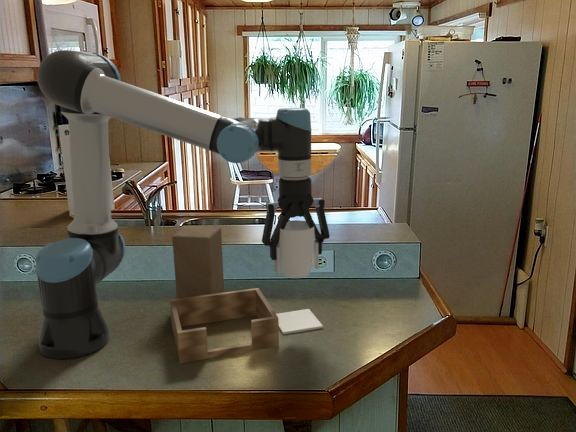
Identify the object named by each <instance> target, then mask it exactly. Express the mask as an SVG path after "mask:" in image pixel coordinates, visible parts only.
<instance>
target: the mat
mask: <svg viewBox="0 0 576 432" xmlns="http://www.w3.org/2000/svg"><path fill="white" fill-rule="evenodd" d="M275 314H276V315H277V317H278V321H279V331H280V332H281V334H282V335H289V334H293V333H294V334H296V333H300V332H301V333H302V332H307V331H314V330H320V329H323V328H324V326H323V324H322V323H321V322H320V321H319V319H318V318H317V317H316V316H315V314H314V313H313V312H312V311H311V310H310V308H305V309H299V310H292V311H285V312H280V313H275Z"/></svg>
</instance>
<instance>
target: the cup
mask: <svg viewBox="0 0 576 432" xmlns="http://www.w3.org/2000/svg"><path fill="white" fill-rule="evenodd" d="M314 241H315V232H314V227H313V228H309V226H308V224H307V223H306V221H305V220H299V219H298V220H296V219H295V220H289V221H288V222H287V224H286V226H285V229H280V239H279V242H278V244H277V245H278V246H279V247H280V262H281V274H282V275H283V276H284V277H287V278H290V279H301V278H305V277H308V276H309V275H310V274H311V267H312V255H313V248H314Z"/></svg>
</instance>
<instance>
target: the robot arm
mask: <svg viewBox="0 0 576 432" xmlns="http://www.w3.org/2000/svg"><path fill="white" fill-rule="evenodd" d="M36 75H37V76H36V78H37V84H38V87H39V88H40V91H41V93H42V95H43V96H44V97H45V98H46V99H48V100H49V101H50V102H51V103H53V104H55V105H57V106H59V107H60V113H61V114H62V115H63V116H64V117H65V118H66V119H67V120H68V125H69V130H68V135H69V139H70V157H71V176H72V195H73V213H74V217H73V220H72V221H71V222H70V223H69V224H68V225H67V229H66V230H67V238H63V239H58V240H57V241H52V242H49V243H47V244H46V245H43V246H42V247H41V248H40V249H39V250H38V251H37V252H36V256H35V274H36V277H37V284H38V289H39V296H40V303H41V307H42V317H43V318H42V322H41V326H40V332H39V336H38V348H39V352H40V354H41V355H43V356H45V357H46V358H49V359H56V360H65V359H67V360H68V359H74V358H80V357H83V356H87V355H89V354H93V353H94V352H96V351H98V350H100V349H102V348H103V347H104V346H106V344H108V342H109V341H110V338H111V336H110V334H111V333H110V327H109V325H108V323H107V320H106V319H105V317H104V315H103V312H102V311H101V309H100V307H99V301H98V300H99V299H98V292H97V286H98V284H99V283H100V282H102V281H103V280H104V279H106V277H107V276H109V275H110V274H112V273H113V272H114V271H115V270H116V269H118V267H119V266H120V264H121V263H122V261H123V260H124V257H125V254H126V243H125V240H124V238H123V236H122V235H121V233H119V225H118V223H117V222H115V220H113V219H112V210H111V196H110V168H111V165H110V166H109V158H110V143H109V141H110V139H109V120H110V119H111V118H113V119H115V120H118V121H121V122H124V123H126V124H130V125H133V126H136V127H138V128H142V129H144V130H146V131H151V132H153V133H157V134H159V135H162V136H165V137H168V138H171V139H175V140H177V141H180V142H183V143H186V144H190V145H192V146H195V147H198V148H201V149H203V150H207V151H210V152H213V153H215V154H217V155H220V156H221V158H223V159H224V160H225V161H227V163H228V162H229V163H232V164H240V163H241V164H242V163H244V162H247V161H249V160H250V159H252V158H253V157H254V156H255V155H256V153H257V152H277V154H278V155H277V156H278V158H277V160H278V161H277V162H278V164H277V165H278V166H277V167H278V168H277V169H278V176H279V179H278V198H277V200H276V201H272V202H270V201H267V202H266V203H265V208H266V214H265V215H266V217H265V221H264V227H263V232H262V237H261V242H262V244H263V245H264V246H267V247H269V256H270V259H271V260H272V261H274V265H273V266H274V267H273V268H274V272H276V274H277V275H281V274H282V268H281V262H280V247H279V246H278V242H279V239H280V229H285V226H286V224H287V222H288V221H290V219H291V218H292V219H293V218H296V217H299V218H301V217H303V219H304V221H306V223H307V224H308V226H309V228H313V227H314V232H315V241H314V248H313V255H312V262H311V267H313V268H314V270H319V266H320V265H319V255H322V252H323V243H324V242H325V240H327V239H330V237H331V235H330V231H329V226H328V222H327V218H326V212H325V203H326V202H325V200H324V199H323V198H321V197H320V196H318V197H316V198H315V197H314V198H313V196H312V190H313V189H312V178H311V177H310V176H311V175H312V123H311V112H310V111H309V109H308V108H304V107H287V108H286V107H285V108H279V109H278V110H277V111H276V116H273V117H242V116H241V117H239V116H238V117H235V118H231V117H226V116H223V115H221V114H217V113H215V112H211V111H209V110H206V109H203V108H201V107H197V106H194V105H191V104H189V103H185V102H182V101H180V100H177V99H175V98H171V97H168V96H165V95H163V94H159V93H157V92H154V91H151V90H148V89H145V88H143V87H142V88H141V87H139V86H136V85H133V84H130V83H127V82H124V81H122V78H121V75H120V72H119V69H118V67H117V66H116V65H115V64H114V63H113V61H111V60H110V59H109V58H108V57H107V56H104V55H103V54H99V53H97V52H92V51H88V50H87V51H77V50H71V49H70V50H68V49H64V50H63V49H60V50H56V51H53V52H51V53H49V54H48V55H46V56H45V57H44V58H42V60H41V62H40V63H39V66H38V69H37V74H36ZM312 205H313V207H315V212H316V216H317V217H316V218H317V221H318V225H319V229H318V227H317V225H316V223H315V221H314V219H313V218H312V217H313V216H312V215H311V212H310V211H309V210H310V209H311V206H312ZM278 207H279V209H281V213H280V215H279V219H278V221H277V223H276V226H275V228H274V230H273V226H274V221H275V216H276V215H275V212H277V211H278V210H277V208H278ZM319 230H320V231H319ZM272 232H273V233H272Z"/></svg>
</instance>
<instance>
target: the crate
mask: <svg viewBox="0 0 576 432" xmlns="http://www.w3.org/2000/svg"><path fill="white" fill-rule="evenodd" d="M169 303H170V305H169V306H170V316H171V319H170V320H171V328H172V333H173V336H174V340H175V346H176V351H177V355H178V360H179V364H183V363H189V362H190V363H191V362H195V361H200V360H201V361H202V360H206V359H213V358H219V357H223V356H224V357H225V356H231V355H235V354H236V355H238V354H242V353H248V352H253V351H260V350H266V349H272V348H277V347H280V335H279V334H280V333H279V332H280V329H279V321H278V317H277V315H276V314H277V313H276V312H275V311H274V309H273V307H272V306H271V305H270V303H269V302H268V300H267V298H266V297H265V295H264V294H263V293H262V291H261V289H260V288H259V287H255V288H249V289H247V288H246V289H239V290H233V291H224V293H216V294H209V295H201V296H194V297H187V298H179V299H177V298H173V299H169ZM254 316H256V319H251V320H250V325H251V326H250V329H251V342H247V343H241V344H235V345H229V346H223V347H218V348H216V347H215V348H211V349H208V335H207V334H208V333H207V327H206V326H204V327H196V328H190V329H184V330H183V328H182V327H188V326H194V325H201V324H208V323H212V322H220V321H228V320H234V319H240V318H242V319H243V318H247V317H254Z"/></svg>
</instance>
